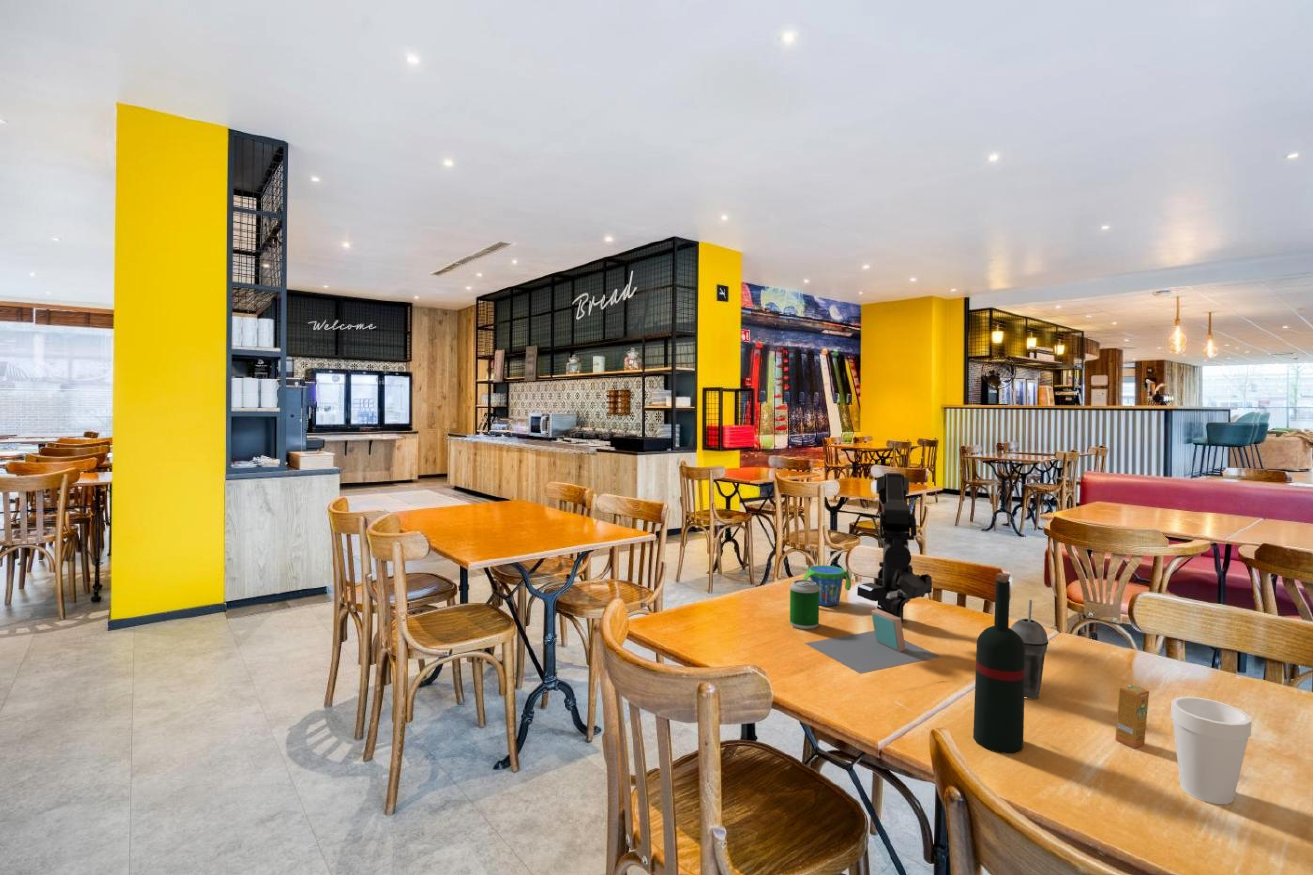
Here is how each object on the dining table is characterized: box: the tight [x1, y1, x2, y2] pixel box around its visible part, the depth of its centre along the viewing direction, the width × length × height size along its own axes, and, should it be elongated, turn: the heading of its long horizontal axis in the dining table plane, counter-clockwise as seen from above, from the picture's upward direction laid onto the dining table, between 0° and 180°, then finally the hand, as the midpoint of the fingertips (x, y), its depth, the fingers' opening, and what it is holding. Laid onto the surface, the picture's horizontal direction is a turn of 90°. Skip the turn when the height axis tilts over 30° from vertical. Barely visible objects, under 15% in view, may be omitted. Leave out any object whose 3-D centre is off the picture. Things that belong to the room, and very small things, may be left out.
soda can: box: [789, 579, 820, 630], centre depth 178 cm, size 8×8×12 cm
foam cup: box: [1170, 696, 1252, 805], centre depth 103 cm, size 10×9×13 cm
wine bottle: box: [972, 572, 1026, 755], centre depth 118 cm, size 8×10×30 cm
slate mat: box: [804, 630, 942, 674], centre depth 161 cm, size 24×20×1 cm
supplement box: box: [1115, 683, 1150, 749], centre depth 118 cm, size 3×3×10 cm
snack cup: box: [802, 564, 852, 607], centre depth 199 cm, size 16×10×10 cm
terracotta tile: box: [871, 608, 906, 652], centre depth 162 cm, size 2×8×8 cm, turn 24°
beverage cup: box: [1009, 599, 1050, 699], centre depth 137 cm, size 7×7×20 cm
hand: (894, 623), depth 163 cm, fingers closed
